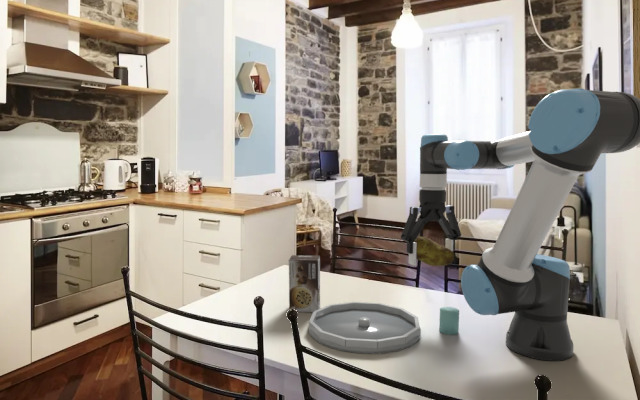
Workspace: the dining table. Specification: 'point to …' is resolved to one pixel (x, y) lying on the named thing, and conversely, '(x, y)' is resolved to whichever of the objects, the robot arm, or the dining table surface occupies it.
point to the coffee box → (304, 283)
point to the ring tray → (364, 327)
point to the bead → (449, 320)
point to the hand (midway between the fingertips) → (430, 262)
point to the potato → (432, 252)
